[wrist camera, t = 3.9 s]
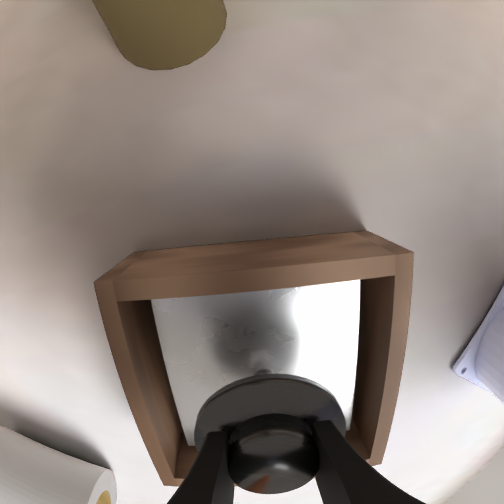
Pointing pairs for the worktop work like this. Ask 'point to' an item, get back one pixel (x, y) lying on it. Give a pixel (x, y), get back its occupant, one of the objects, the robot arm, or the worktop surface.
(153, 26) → the brown tapered figure
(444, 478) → the worktop surface
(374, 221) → the worktop surface
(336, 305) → the plunger
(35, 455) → the toilet paper
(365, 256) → the frame
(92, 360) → the worktop surface
